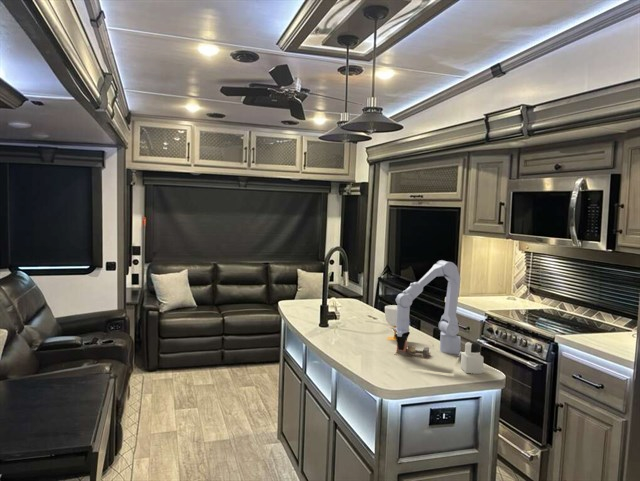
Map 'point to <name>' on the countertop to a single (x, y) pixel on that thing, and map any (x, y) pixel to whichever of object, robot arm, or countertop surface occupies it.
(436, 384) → the countertop surface
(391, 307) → the cup
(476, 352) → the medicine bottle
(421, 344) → the countertop surface
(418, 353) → the cracker bench
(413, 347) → the cylinder
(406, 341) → the block
